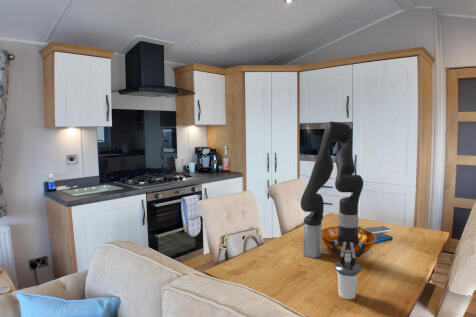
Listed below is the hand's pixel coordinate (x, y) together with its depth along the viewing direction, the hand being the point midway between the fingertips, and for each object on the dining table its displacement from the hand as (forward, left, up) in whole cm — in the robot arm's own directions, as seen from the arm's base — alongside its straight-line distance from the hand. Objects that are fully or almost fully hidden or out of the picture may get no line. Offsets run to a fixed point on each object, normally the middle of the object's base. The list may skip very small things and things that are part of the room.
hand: (347, 265), depth 130 cm
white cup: (0, 0, -13) cm, 13 cm away
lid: (0, 0, -1) cm, 1 cm away
